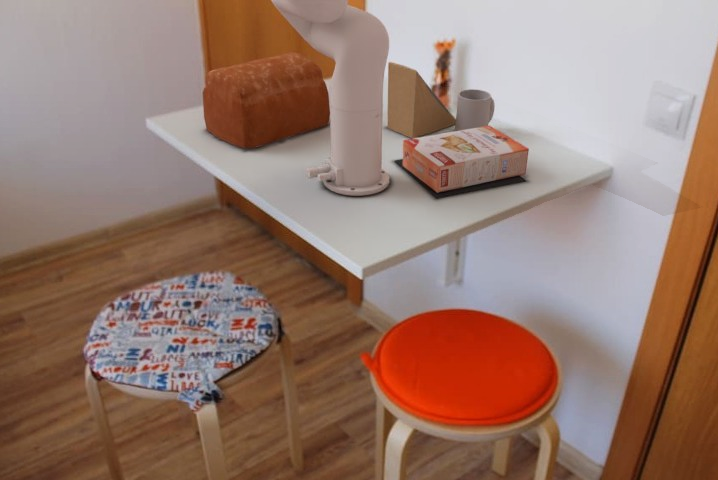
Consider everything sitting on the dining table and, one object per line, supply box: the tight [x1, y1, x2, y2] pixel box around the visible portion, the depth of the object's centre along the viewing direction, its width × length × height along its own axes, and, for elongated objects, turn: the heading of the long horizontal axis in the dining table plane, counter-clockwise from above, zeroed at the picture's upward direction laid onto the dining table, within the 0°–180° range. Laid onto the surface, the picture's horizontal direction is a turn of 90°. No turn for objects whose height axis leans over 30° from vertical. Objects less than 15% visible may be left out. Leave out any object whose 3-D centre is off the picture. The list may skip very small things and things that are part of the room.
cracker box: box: [402, 125, 530, 193], centre depth 142 cm, size 14×6×21 cm
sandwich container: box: [387, 61, 456, 139], centre depth 161 cm, size 9×15×15 cm, turn 135°
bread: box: [202, 51, 330, 149], centre depth 156 cm, size 17×24×15 cm
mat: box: [394, 158, 527, 199], centre depth 144 cm, size 20×18×1 cm
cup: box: [454, 88, 495, 131], centre depth 160 cm, size 7×10×9 cm
